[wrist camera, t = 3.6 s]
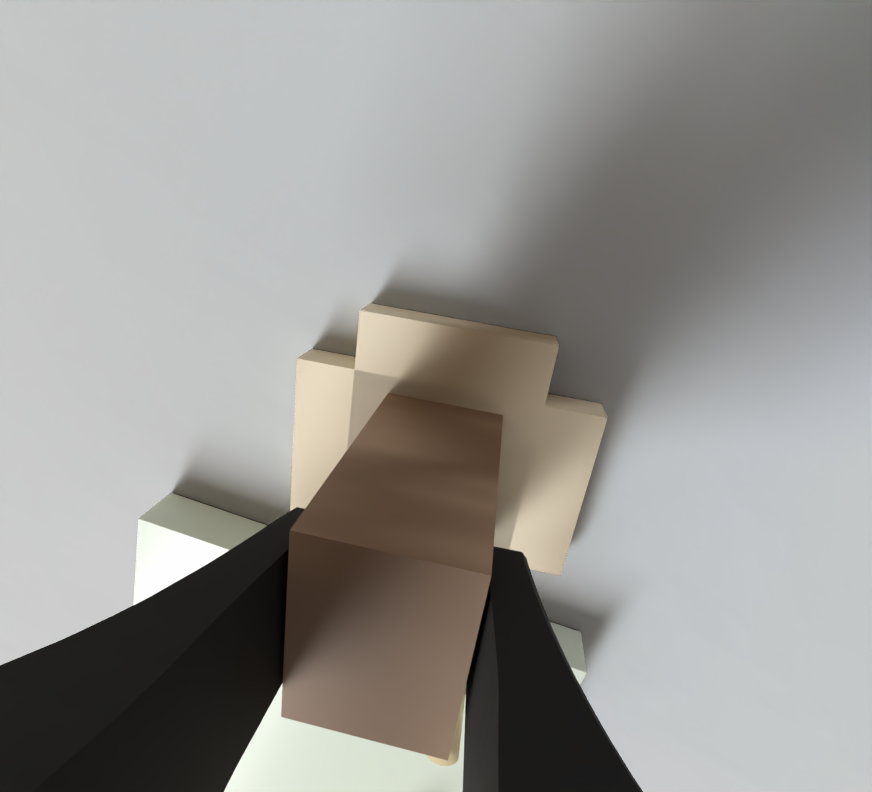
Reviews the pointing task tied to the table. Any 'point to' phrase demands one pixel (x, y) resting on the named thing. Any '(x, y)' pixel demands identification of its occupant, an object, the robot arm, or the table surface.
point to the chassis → (276, 736)
